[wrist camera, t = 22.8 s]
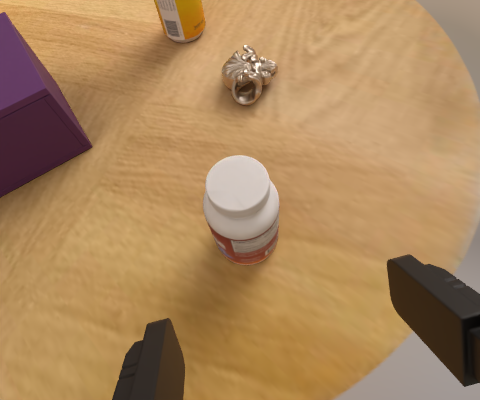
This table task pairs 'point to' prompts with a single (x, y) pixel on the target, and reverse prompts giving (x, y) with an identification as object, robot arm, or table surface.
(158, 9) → the beer can
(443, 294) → the robot arm
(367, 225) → the table surface
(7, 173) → the box
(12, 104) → the lid
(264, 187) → the pill bottle
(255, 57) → the ornament
